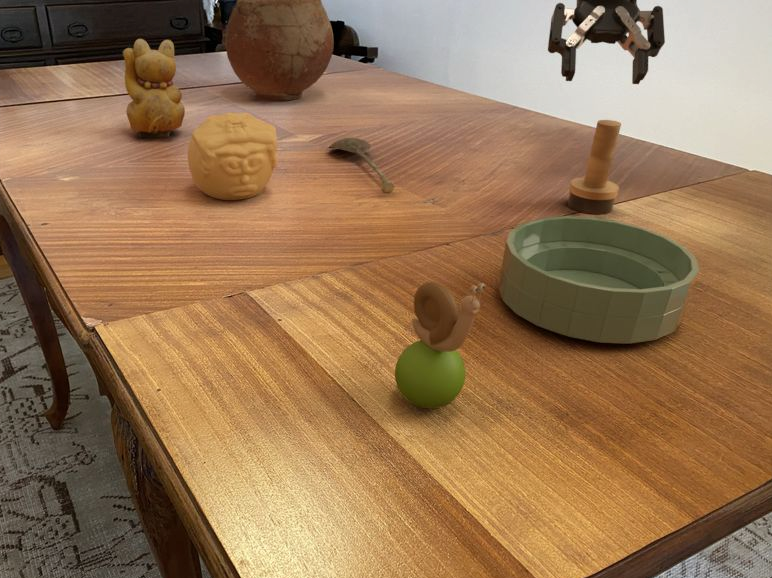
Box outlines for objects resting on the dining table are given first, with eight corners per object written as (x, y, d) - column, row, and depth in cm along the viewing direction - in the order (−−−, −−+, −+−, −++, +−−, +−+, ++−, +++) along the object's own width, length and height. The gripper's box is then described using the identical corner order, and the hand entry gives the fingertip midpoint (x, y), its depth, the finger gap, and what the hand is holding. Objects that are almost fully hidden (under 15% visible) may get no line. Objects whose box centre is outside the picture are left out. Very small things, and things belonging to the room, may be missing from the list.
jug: (234, 83, 155) (228, -76, 139) (332, 85, 155) (337, -74, 139) (220, 107, 137) (211, -73, 121) (331, 110, 136) (337, -71, 120)
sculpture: (204, 212, 90) (198, 127, 85) (182, 183, 100) (175, 105, 94) (287, 201, 94) (287, 119, 88) (258, 174, 103) (256, 98, 98)
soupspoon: (363, 150, 116) (324, 155, 115) (363, 129, 115) (324, 134, 113) (410, 190, 98) (365, 196, 97) (411, 166, 96) (365, 172, 95)
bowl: (643, 270, 77) (658, 219, 74) (709, 354, 63) (731, 295, 60) (485, 264, 78) (494, 213, 75) (514, 346, 64) (526, 287, 61)
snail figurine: (432, 438, 53) (451, 296, 46) (378, 395, 57) (389, 260, 51) (483, 414, 55) (509, 276, 49) (428, 375, 60) (445, 244, 53)
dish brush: (605, 199, 96) (626, 117, 90) (619, 215, 91) (642, 129, 85) (561, 197, 97) (578, 115, 91) (572, 214, 91) (591, 128, 86)
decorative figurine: (183, 126, 125) (176, 35, 117) (189, 139, 118) (182, 43, 110) (128, 130, 123) (116, 37, 115) (130, 143, 116) (118, 45, 108)
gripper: (559, -49, 93) (555, 59, 90) (673, -47, 91) (672, 63, 88) (546, -8, 100) (541, 93, 97) (651, -6, 99) (650, 98, 95)
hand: (604, 79), depth 93 cm, fingers open, 8 cm apart
